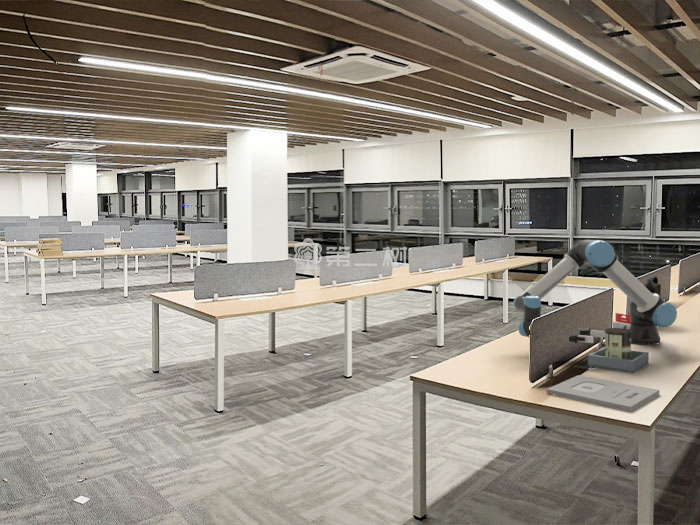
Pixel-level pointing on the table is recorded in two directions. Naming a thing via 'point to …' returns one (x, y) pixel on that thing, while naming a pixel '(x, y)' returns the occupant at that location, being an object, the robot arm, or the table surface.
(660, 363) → the table surface
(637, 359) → the tray
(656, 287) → the shoulder bag
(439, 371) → the table surface
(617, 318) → the ink cartridge box
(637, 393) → the award plaque
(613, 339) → the coffee can
